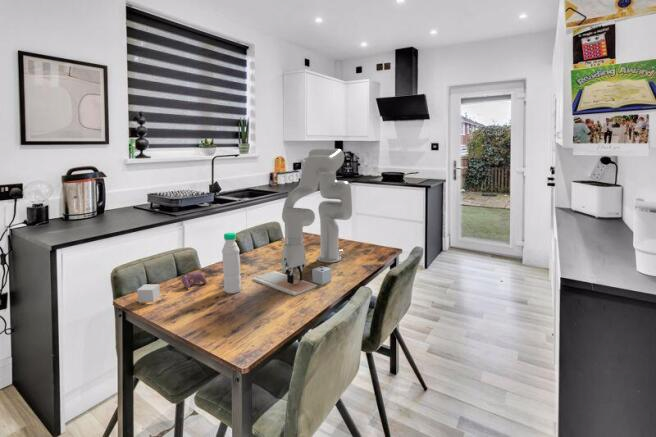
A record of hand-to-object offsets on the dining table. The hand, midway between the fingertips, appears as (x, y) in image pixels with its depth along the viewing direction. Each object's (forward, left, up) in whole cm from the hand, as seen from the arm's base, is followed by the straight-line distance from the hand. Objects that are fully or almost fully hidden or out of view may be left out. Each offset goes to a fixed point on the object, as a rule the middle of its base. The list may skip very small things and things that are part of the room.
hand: (294, 281), depth 168 cm
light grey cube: (+48, -33, -3) cm, 58 cm away
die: (-13, +4, -3) cm, 14 cm away
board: (0, -7, -3) cm, 7 cm away
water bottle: (+20, -17, -3) cm, 26 cm away
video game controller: (+28, -35, -3) cm, 44 cm away
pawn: (0, 0, -1) cm, 1 cm away
